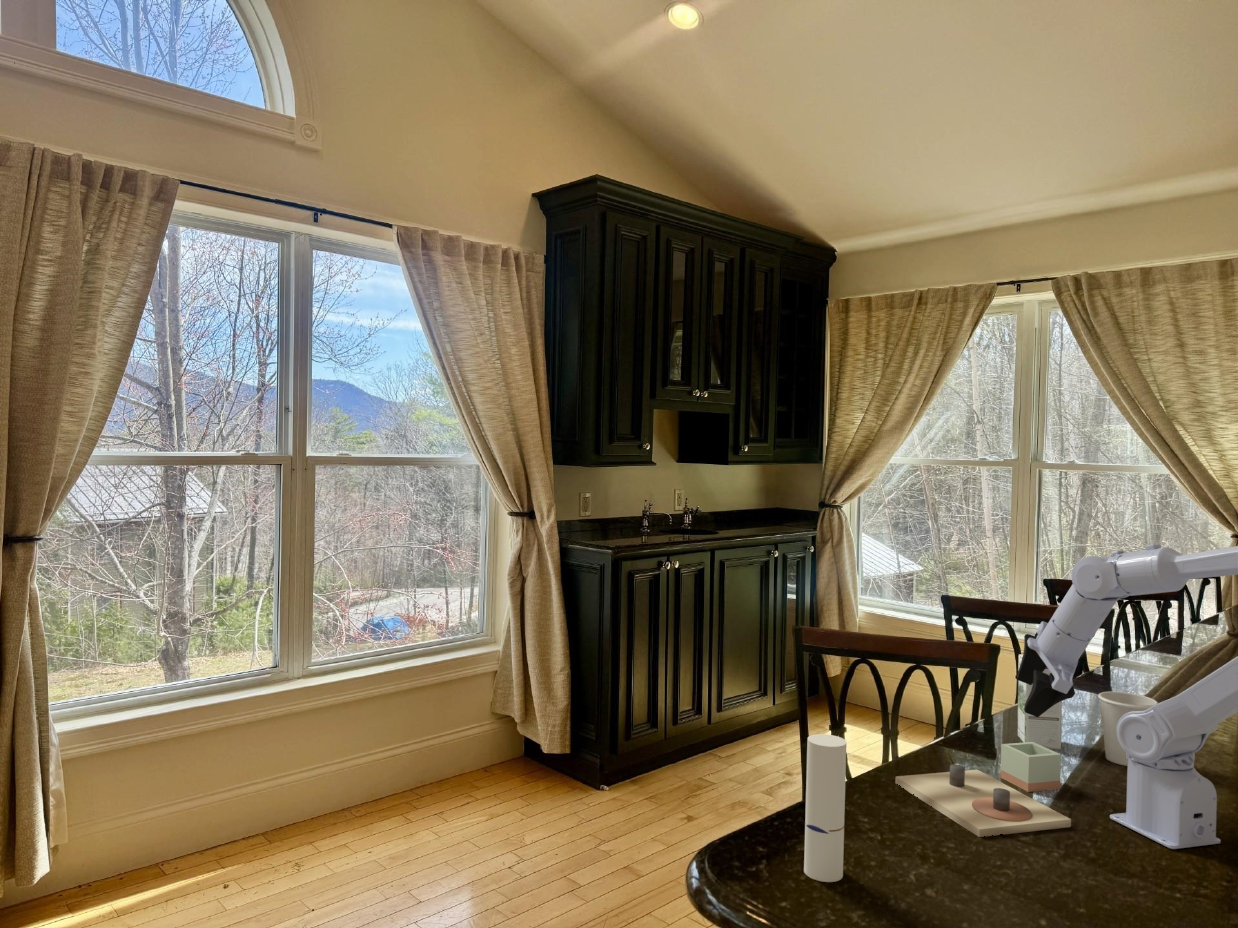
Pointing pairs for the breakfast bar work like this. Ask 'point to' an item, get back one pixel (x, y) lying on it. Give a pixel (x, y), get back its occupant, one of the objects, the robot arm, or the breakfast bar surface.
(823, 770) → the tube
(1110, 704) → the dixie cup
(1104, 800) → the breakfast bar surface
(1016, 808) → the pin board
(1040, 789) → the sleeve
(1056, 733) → the syrup box
